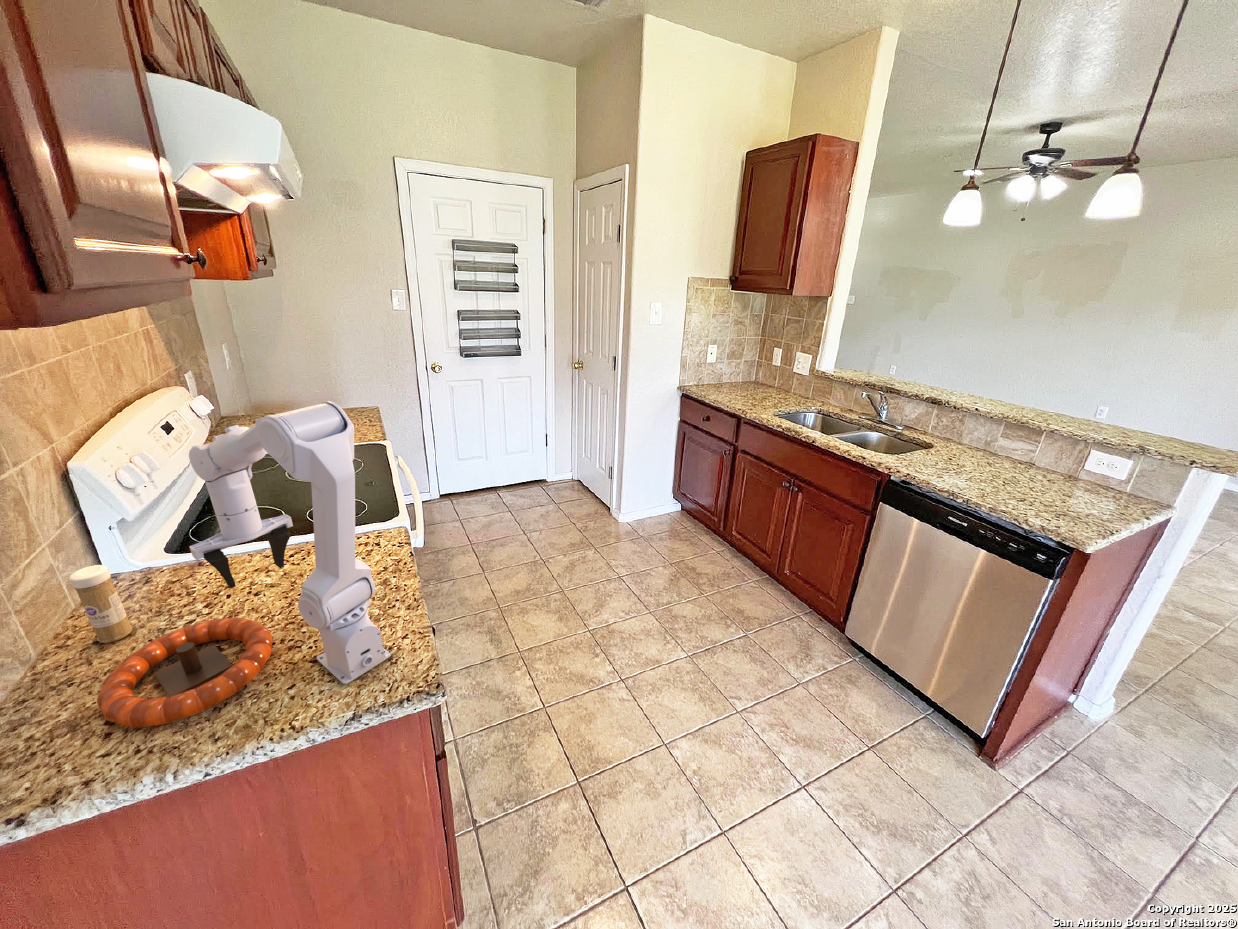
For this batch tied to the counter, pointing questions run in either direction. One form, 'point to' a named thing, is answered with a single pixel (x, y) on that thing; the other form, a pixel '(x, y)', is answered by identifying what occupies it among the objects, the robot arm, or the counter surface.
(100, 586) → the sprinkles bottle
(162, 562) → the counter surface
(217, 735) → the counter surface
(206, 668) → the stand
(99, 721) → the counter surface
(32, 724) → the counter surface
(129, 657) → the ring
